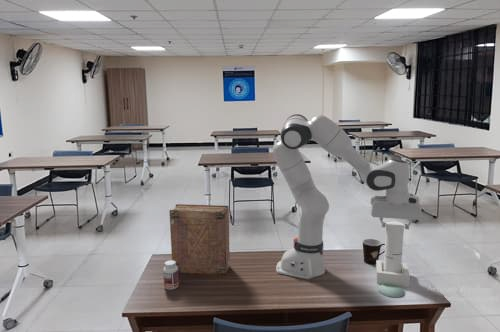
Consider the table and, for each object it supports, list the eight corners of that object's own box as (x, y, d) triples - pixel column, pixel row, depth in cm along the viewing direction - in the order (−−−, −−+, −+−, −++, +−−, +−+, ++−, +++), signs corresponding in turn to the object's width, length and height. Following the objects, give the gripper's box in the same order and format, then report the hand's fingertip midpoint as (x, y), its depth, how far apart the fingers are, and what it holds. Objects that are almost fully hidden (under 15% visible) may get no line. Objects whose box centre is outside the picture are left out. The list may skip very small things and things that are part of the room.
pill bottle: (176, 281, 174) (175, 258, 171) (180, 288, 168) (179, 263, 166) (162, 284, 171) (161, 261, 169) (166, 291, 166) (164, 266, 163)
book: (172, 272, 182) (168, 210, 177) (178, 263, 191) (175, 204, 186) (226, 275, 179) (224, 211, 173) (230, 266, 188) (228, 205, 182)
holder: (376, 283, 170) (377, 272, 169) (375, 270, 182) (376, 259, 181) (409, 287, 167) (409, 276, 166) (405, 273, 179) (406, 262, 178)
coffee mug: (361, 264, 188) (362, 244, 186) (361, 257, 196) (362, 238, 194) (387, 267, 185) (388, 247, 183) (386, 259, 193) (387, 240, 191)
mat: (378, 295, 160) (378, 294, 160) (377, 284, 170) (378, 282, 169) (405, 299, 157) (405, 297, 157) (402, 286, 167) (402, 285, 167)
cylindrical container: (401, 282, 170) (405, 227, 166) (384, 281, 172) (387, 226, 167) (398, 275, 177) (402, 221, 172) (382, 273, 179) (385, 221, 174)
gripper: (371, 197, 167) (369, 228, 170) (423, 200, 162) (421, 232, 164) (370, 193, 173) (369, 223, 176) (421, 196, 168) (419, 227, 170)
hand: (395, 227), depth 170 cm, fingers open, 8 cm apart
